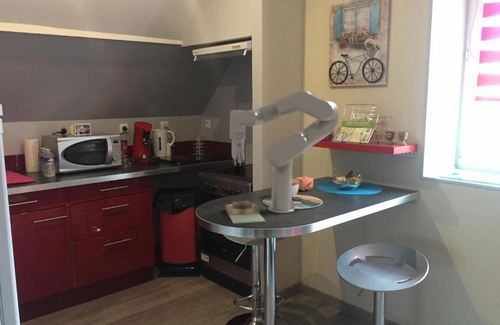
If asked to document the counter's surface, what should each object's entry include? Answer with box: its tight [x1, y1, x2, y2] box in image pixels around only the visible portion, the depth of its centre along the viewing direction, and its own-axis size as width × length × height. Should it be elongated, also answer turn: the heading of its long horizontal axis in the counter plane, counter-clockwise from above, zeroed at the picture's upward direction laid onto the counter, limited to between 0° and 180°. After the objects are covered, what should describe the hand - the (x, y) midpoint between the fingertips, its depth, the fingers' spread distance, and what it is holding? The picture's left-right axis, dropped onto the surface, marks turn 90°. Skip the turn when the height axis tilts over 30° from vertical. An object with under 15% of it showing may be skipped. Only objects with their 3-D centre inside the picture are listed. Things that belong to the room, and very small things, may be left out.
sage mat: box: [228, 213, 266, 225], centre depth 188 cm, size 14×12×1 cm
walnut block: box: [231, 200, 252, 209], centre depth 199 cm, size 8×7×2 cm
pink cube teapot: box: [294, 175, 314, 192], centre depth 245 cm, size 8×12×8 cm, turn 34°
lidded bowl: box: [292, 178, 299, 197], centre depth 228 cm, size 13×13×11 cm
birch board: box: [225, 202, 260, 216], centre depth 199 cm, size 14×11×2 cm
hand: (237, 173), depth 207 cm, fingers closed
